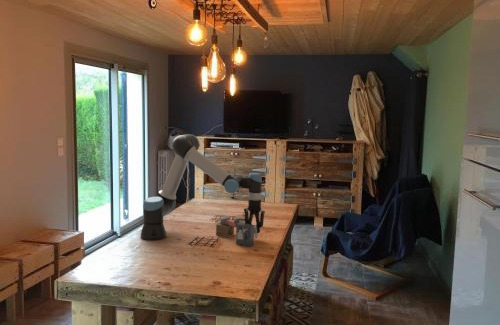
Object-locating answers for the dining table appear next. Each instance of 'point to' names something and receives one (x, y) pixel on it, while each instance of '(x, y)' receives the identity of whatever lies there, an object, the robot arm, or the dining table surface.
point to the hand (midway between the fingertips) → (253, 237)
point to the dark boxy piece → (250, 239)
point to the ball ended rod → (229, 221)
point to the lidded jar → (241, 219)
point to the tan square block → (224, 230)
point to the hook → (244, 233)
